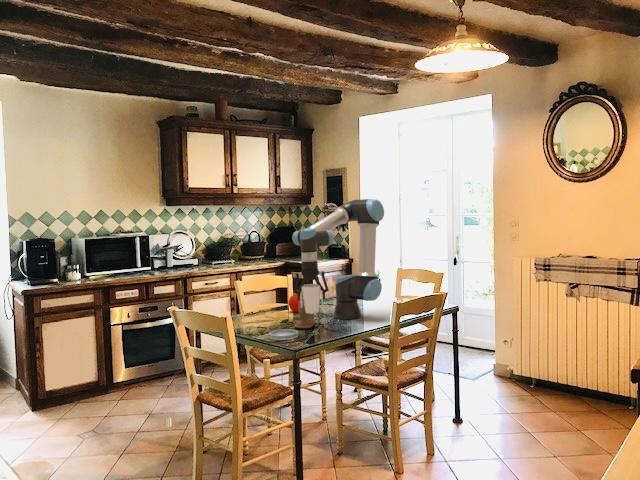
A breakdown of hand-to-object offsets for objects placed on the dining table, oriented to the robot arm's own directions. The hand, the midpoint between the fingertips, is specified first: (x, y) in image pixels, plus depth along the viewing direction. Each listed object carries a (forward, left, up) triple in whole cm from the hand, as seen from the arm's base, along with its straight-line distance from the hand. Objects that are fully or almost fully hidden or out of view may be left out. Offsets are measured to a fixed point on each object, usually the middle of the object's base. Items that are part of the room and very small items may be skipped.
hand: (312, 306), depth 274 cm
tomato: (+9, -60, -14) cm, 62 cm away
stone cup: (+3, -20, -14) cm, 25 cm away
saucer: (+14, 0, -14) cm, 20 cm away
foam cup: (0, 0, -3) cm, 3 cm away
